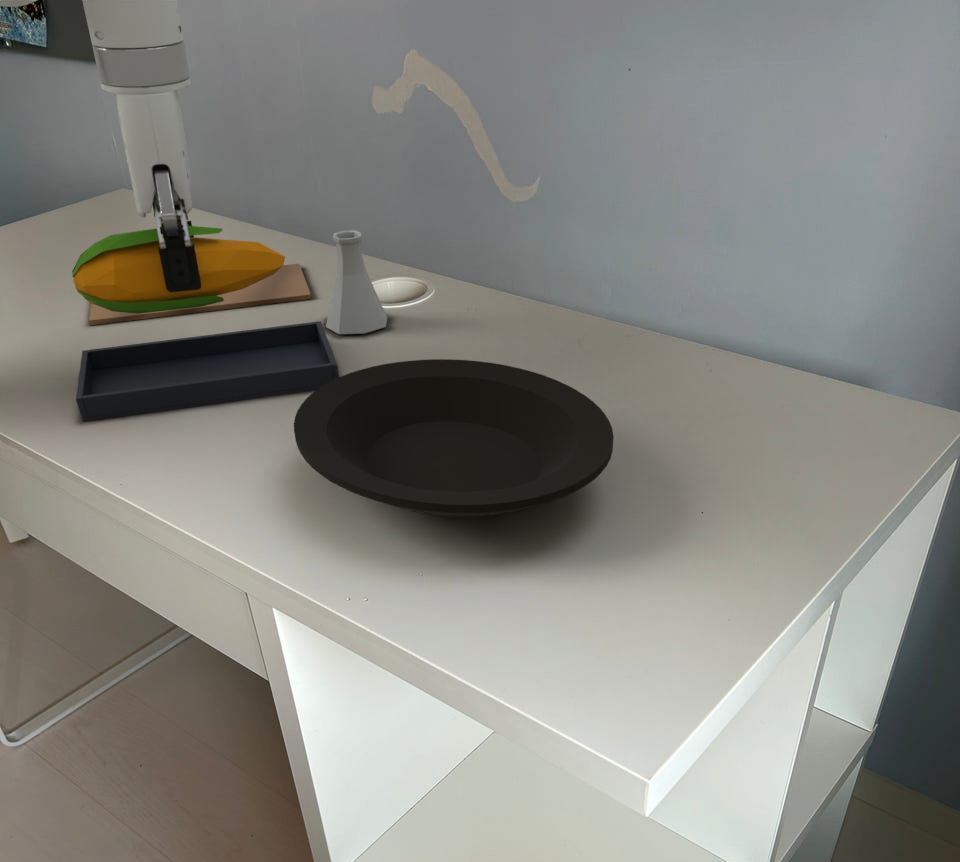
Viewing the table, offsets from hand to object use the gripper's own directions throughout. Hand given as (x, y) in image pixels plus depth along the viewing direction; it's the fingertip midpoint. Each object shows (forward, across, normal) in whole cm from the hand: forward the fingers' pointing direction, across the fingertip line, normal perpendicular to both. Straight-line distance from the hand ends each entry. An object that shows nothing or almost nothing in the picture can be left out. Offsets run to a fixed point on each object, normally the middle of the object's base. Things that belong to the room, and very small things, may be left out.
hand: (183, 275), depth 96 cm
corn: (+3, 0, 0) cm, 3 cm away
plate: (+10, +29, +20) cm, 36 cm away
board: (+11, -26, +1) cm, 28 cm away
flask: (+11, -10, +18) cm, 23 cm away
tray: (+11, 0, +1) cm, 11 cm away
